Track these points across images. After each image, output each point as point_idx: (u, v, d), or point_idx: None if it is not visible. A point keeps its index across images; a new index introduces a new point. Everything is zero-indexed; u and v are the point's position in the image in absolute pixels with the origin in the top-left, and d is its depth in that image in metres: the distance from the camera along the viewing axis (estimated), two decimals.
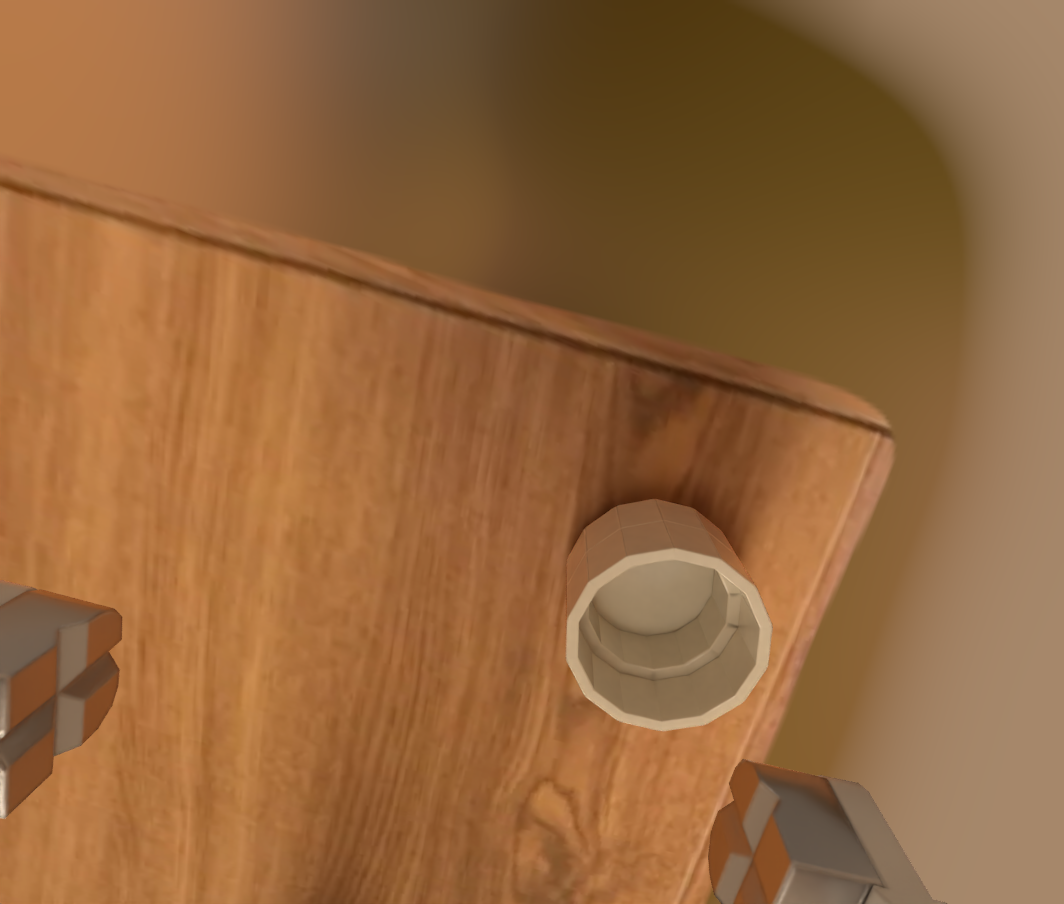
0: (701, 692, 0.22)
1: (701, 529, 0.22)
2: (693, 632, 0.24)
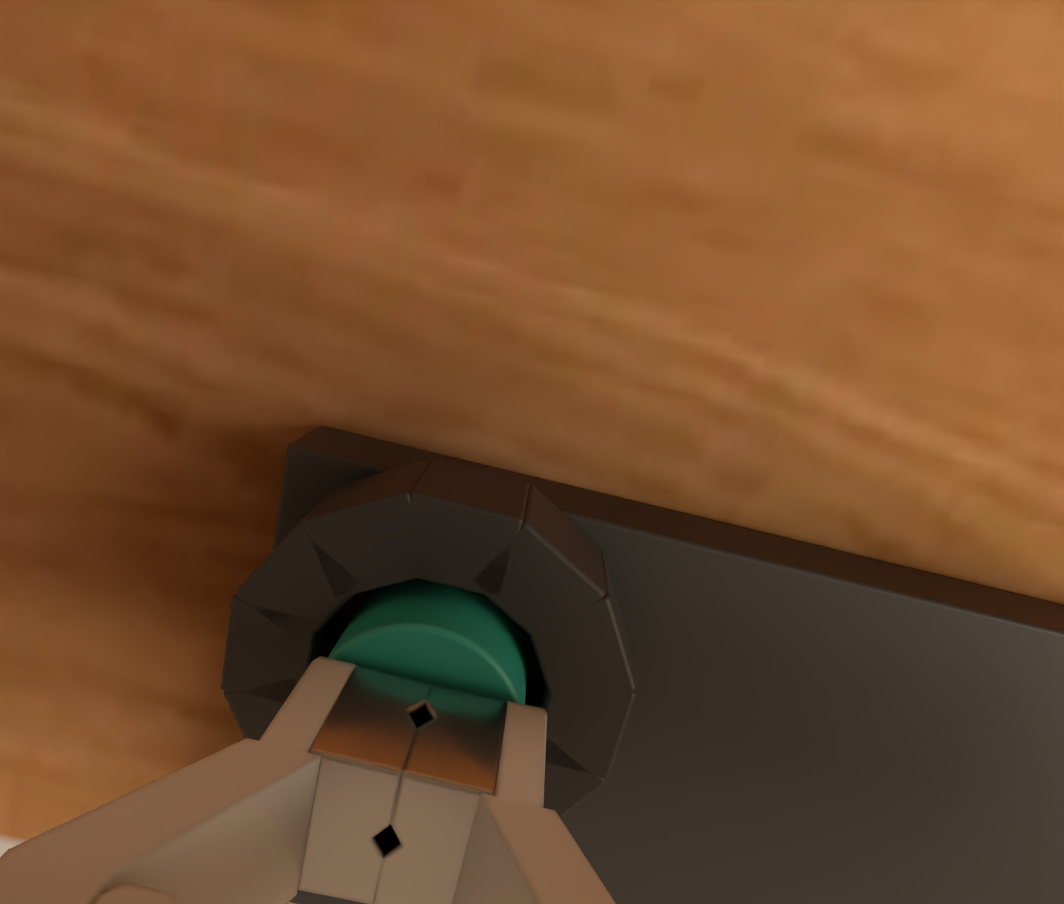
0: None
1: None
2: None
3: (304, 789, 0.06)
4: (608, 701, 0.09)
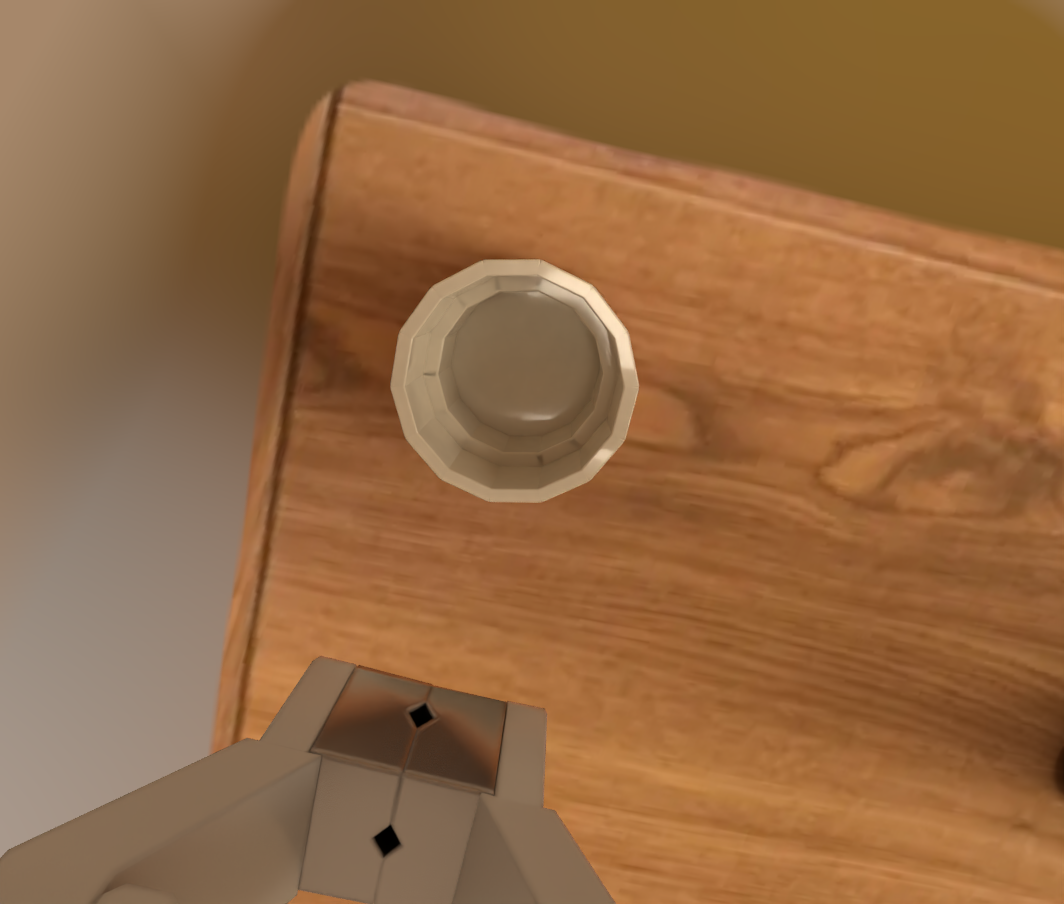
0: None
1: None
2: None
3: (304, 789, 0.06)
4: None
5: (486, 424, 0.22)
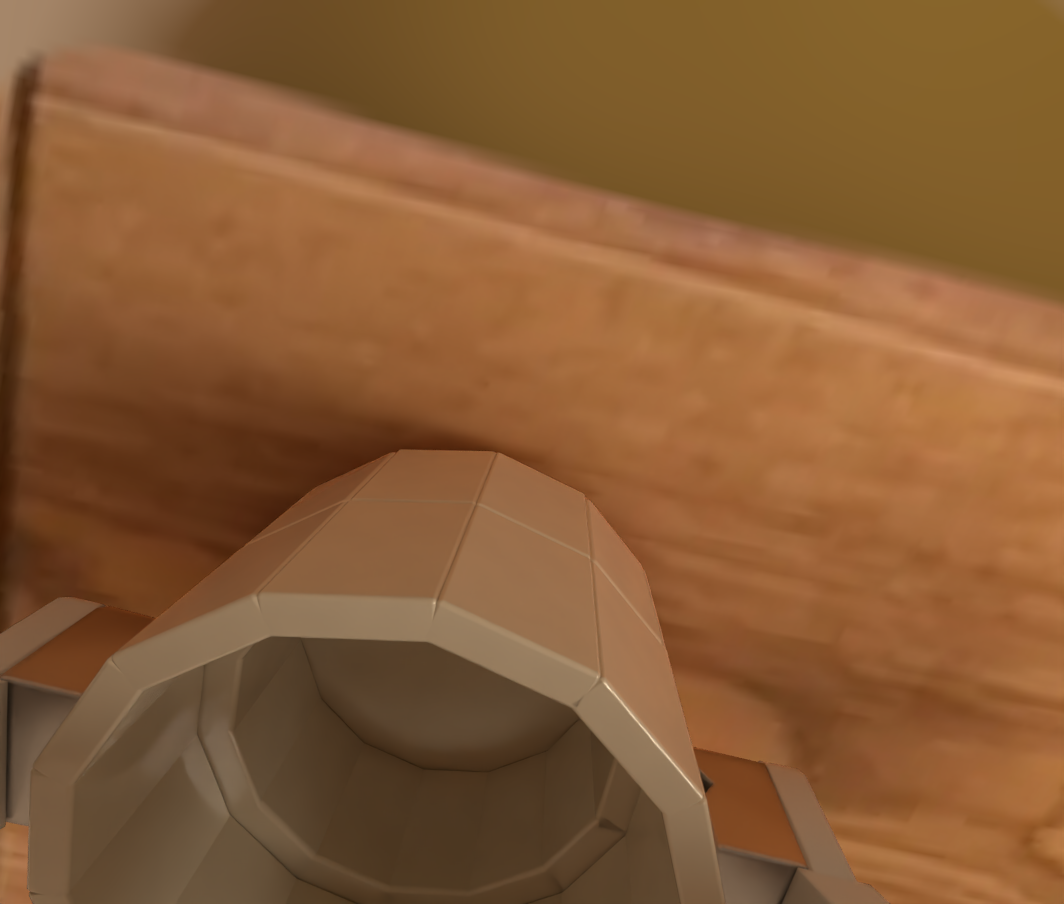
0: None
1: None
2: None
3: None
4: None
5: (377, 747, 0.11)
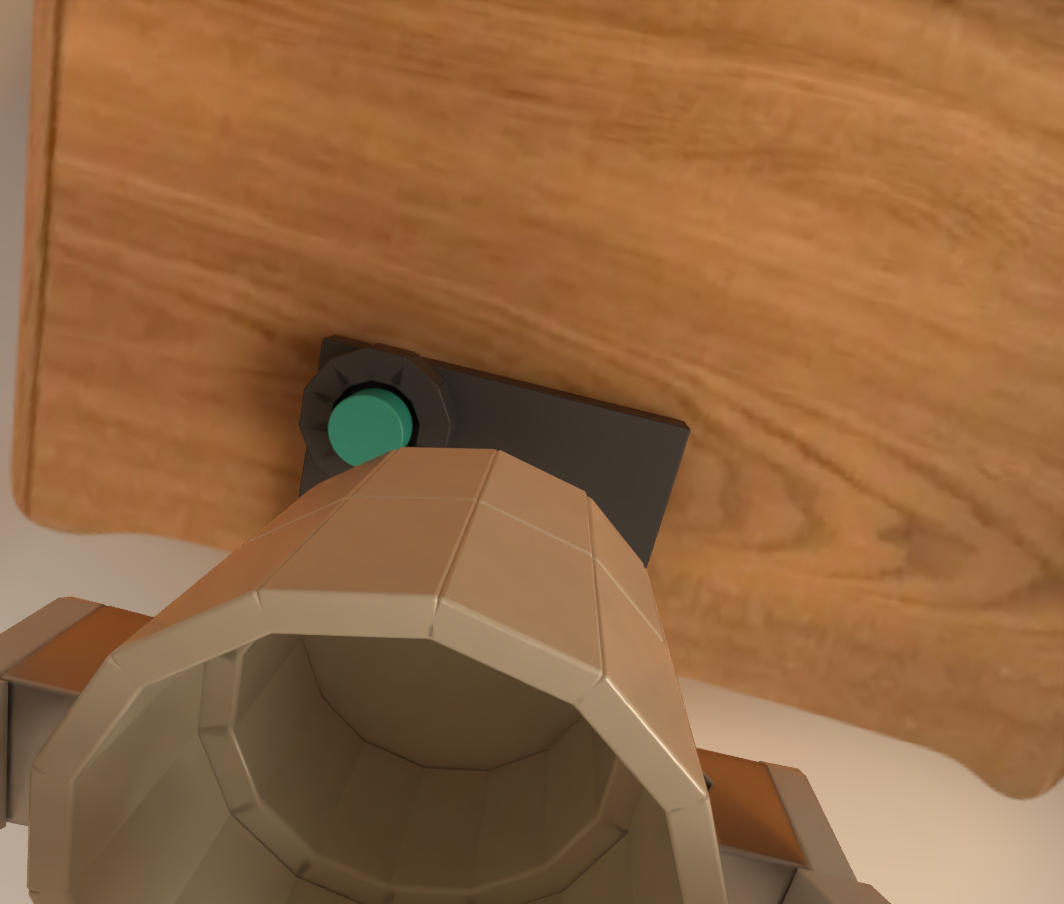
0: None
1: None
2: None
3: None
4: (441, 428, 0.24)
5: (377, 745, 0.11)
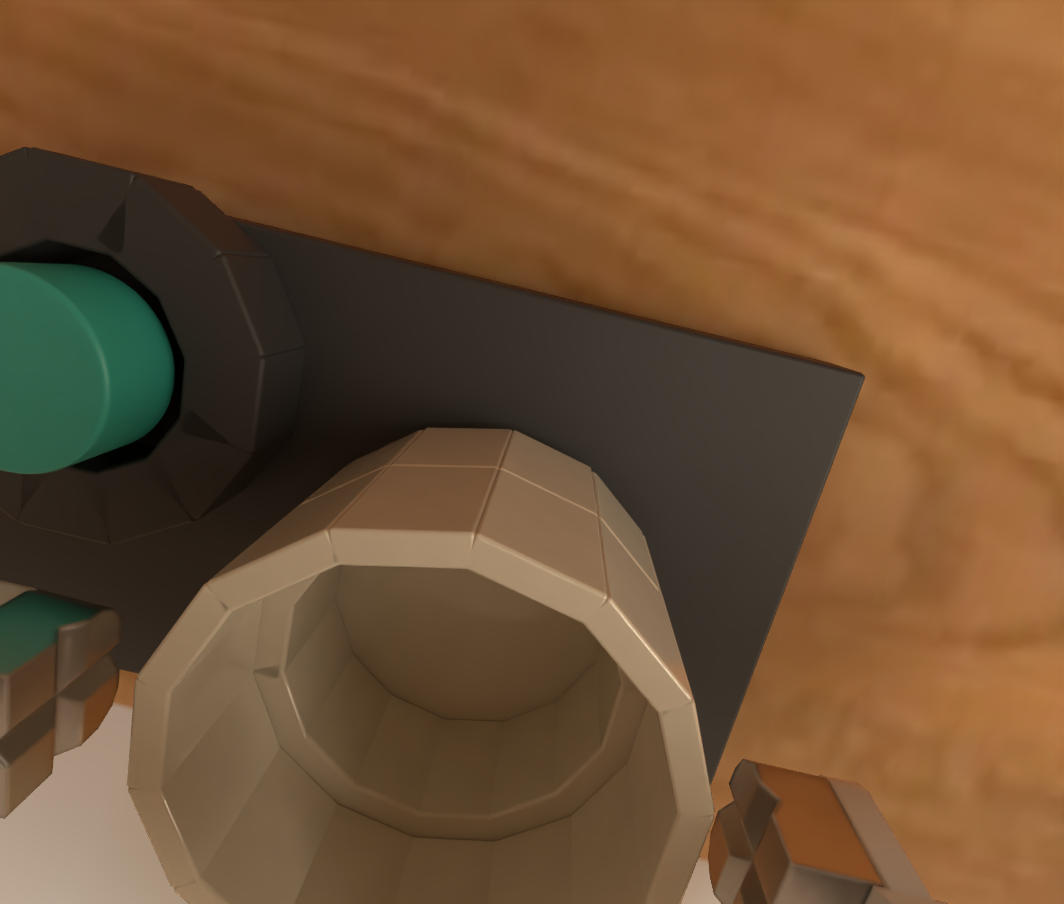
0: None
1: None
2: None
3: None
4: (239, 367, 0.09)
5: (403, 698, 0.12)
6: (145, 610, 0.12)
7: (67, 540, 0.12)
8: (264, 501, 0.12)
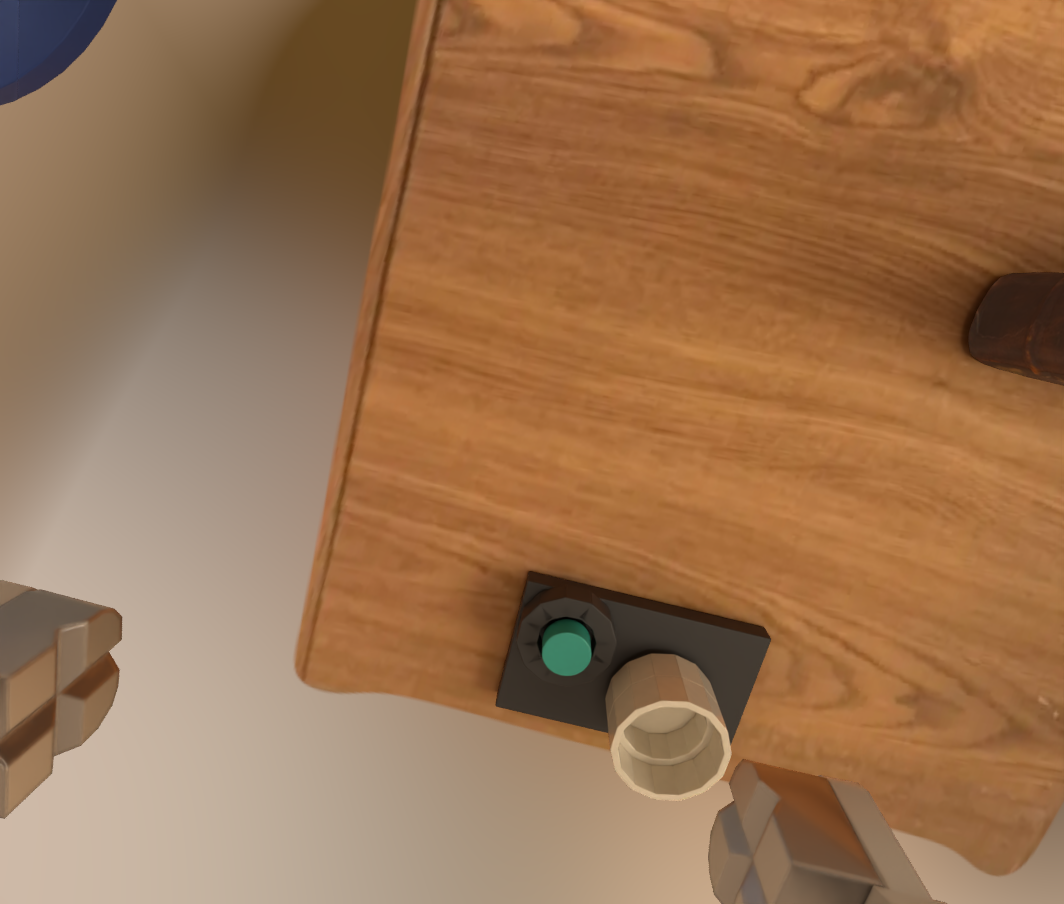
0: None
1: (613, 703, 0.37)
2: None
3: None
4: (610, 645, 0.37)
5: (635, 726, 0.40)
6: (553, 699, 0.40)
7: (533, 679, 0.40)
8: None
